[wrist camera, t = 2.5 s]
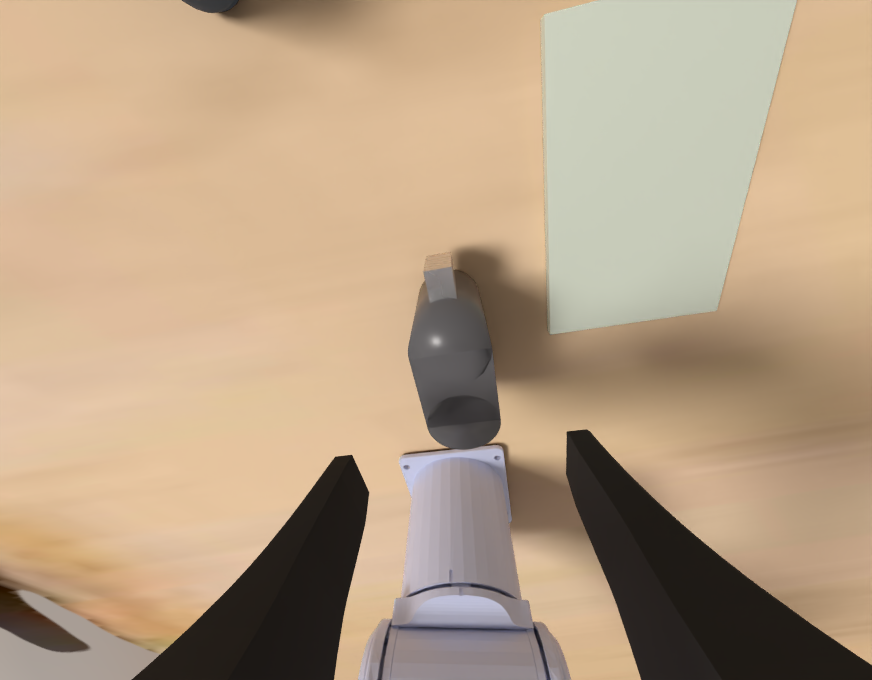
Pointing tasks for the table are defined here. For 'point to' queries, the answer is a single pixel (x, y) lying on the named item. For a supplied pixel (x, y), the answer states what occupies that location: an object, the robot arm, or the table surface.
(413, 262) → the table surface
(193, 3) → the vaping device
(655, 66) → the board
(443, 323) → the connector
